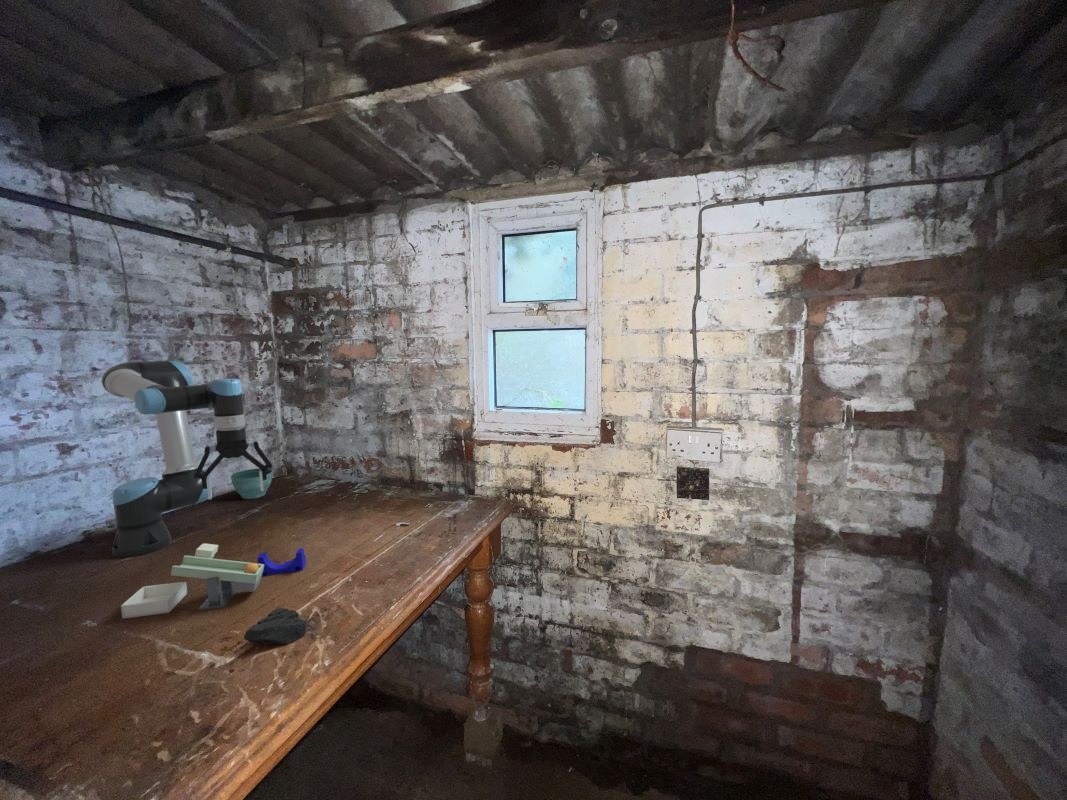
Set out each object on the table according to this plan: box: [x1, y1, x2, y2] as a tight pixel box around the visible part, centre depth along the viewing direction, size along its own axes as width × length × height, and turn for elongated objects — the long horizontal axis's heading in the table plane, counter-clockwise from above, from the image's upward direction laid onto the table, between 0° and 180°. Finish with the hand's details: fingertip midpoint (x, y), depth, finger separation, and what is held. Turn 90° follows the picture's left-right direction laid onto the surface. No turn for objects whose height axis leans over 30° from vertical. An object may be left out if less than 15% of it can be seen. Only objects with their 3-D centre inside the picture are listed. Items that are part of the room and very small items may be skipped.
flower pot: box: [230, 468, 273, 500], centre depth 199 cm, size 16×16×11 cm
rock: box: [243, 607, 309, 645], centre depth 103 cm, size 10×6×10 cm
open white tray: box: [120, 581, 188, 620], centre depth 116 cm, size 10×9×4 cm
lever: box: [170, 542, 265, 593], centre depth 123 cm, size 20×14×5 cm
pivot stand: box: [198, 577, 238, 611], centre depth 119 cm, size 6×11×8 cm, turn 14°
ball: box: [244, 562, 259, 574], centre depth 121 cm, size 4×4×4 cm
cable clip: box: [257, 548, 307, 577], centre depth 134 cm, size 12×4×6 cm, turn 106°
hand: (236, 494), depth 136 cm, fingers open, 13 cm apart
